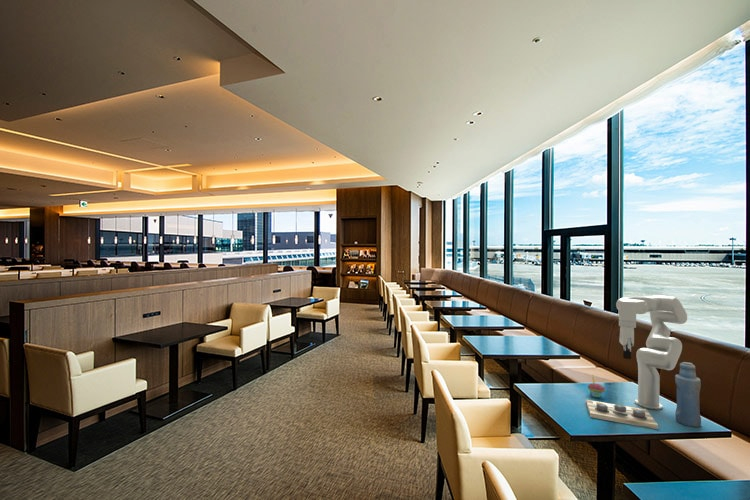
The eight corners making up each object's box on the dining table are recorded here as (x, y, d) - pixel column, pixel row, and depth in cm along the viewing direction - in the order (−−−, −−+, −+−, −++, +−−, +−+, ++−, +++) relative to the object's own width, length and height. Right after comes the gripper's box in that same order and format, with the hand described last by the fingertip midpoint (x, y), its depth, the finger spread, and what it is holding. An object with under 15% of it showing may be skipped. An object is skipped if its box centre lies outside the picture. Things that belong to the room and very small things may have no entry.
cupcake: (587, 396, 212) (587, 375, 212) (588, 392, 219) (588, 372, 219) (604, 399, 207) (604, 378, 208) (604, 395, 214) (605, 375, 215)
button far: (595, 406, 191) (595, 402, 191) (606, 408, 189) (606, 404, 189) (597, 410, 186) (597, 406, 186) (608, 412, 184) (608, 408, 184)
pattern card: (592, 401, 199) (592, 400, 199) (640, 409, 190) (640, 408, 190) (593, 404, 195) (593, 404, 195) (642, 413, 185) (642, 412, 185)
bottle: (703, 429, 173) (704, 367, 174) (677, 424, 178) (677, 363, 178) (697, 421, 181) (698, 362, 182) (672, 417, 186) (673, 359, 187)
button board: (585, 403, 202) (585, 399, 202) (646, 413, 190) (646, 409, 190) (590, 417, 183) (590, 412, 184) (657, 429, 172) (657, 424, 172)
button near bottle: (631, 412, 184) (632, 408, 184) (643, 414, 182) (643, 410, 182) (634, 416, 179) (634, 412, 179) (646, 418, 177) (646, 414, 177)
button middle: (613, 407, 187) (613, 403, 187) (625, 409, 185) (625, 405, 185) (615, 411, 183) (615, 407, 183) (627, 413, 181) (627, 409, 181)
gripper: (616, 320, 198) (615, 354, 198) (621, 325, 184) (621, 361, 184) (632, 322, 195) (632, 356, 195) (639, 326, 181) (639, 363, 181)
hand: (627, 358), depth 189 cm, fingers closed
